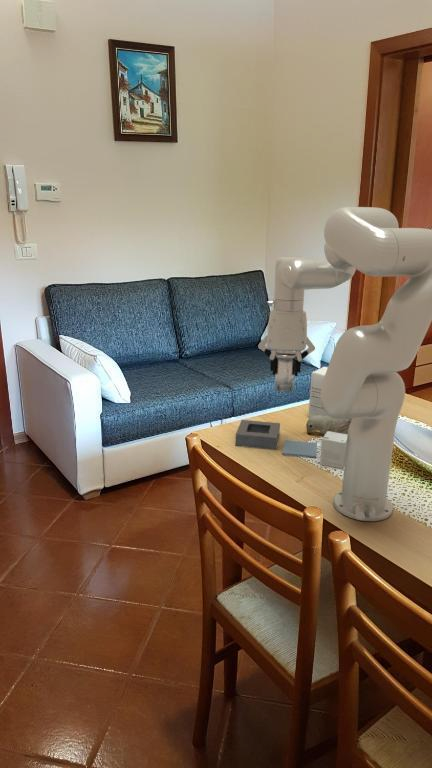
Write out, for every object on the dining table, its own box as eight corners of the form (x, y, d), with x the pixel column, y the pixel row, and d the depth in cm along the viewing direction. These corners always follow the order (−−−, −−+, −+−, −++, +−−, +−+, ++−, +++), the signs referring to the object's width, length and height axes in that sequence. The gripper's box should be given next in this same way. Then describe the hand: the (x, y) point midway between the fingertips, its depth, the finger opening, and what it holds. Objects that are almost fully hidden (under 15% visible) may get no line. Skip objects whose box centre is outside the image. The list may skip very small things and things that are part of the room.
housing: (276, 449, 152) (276, 437, 151) (235, 445, 154) (235, 434, 153) (279, 434, 163) (280, 423, 162) (241, 430, 165) (241, 419, 164)
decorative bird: (306, 430, 167) (308, 406, 165) (362, 437, 163) (364, 412, 161) (304, 436, 162) (306, 412, 160) (361, 444, 158) (364, 419, 156)
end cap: (295, 393, 147) (297, 356, 144) (272, 391, 148) (273, 355, 145) (295, 387, 152) (297, 351, 150) (273, 385, 153) (275, 349, 151)
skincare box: (348, 460, 147) (350, 434, 145) (342, 469, 142) (345, 442, 139) (325, 456, 149) (327, 430, 147) (319, 464, 144) (321, 438, 142)
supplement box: (319, 409, 184) (323, 365, 179) (345, 416, 179) (349, 370, 174) (307, 417, 177) (310, 371, 172) (333, 424, 172) (337, 377, 167)
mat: (316, 458, 148) (316, 456, 147) (282, 454, 149) (282, 452, 149) (317, 444, 156) (317, 442, 156) (284, 441, 158) (284, 439, 157)
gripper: (253, 306, 141) (251, 376, 147) (322, 309, 139) (317, 379, 144) (256, 302, 149) (254, 368, 154) (322, 305, 146) (317, 372, 151)
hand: (285, 373), depth 149 cm, fingers closed on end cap, 5 cm apart
